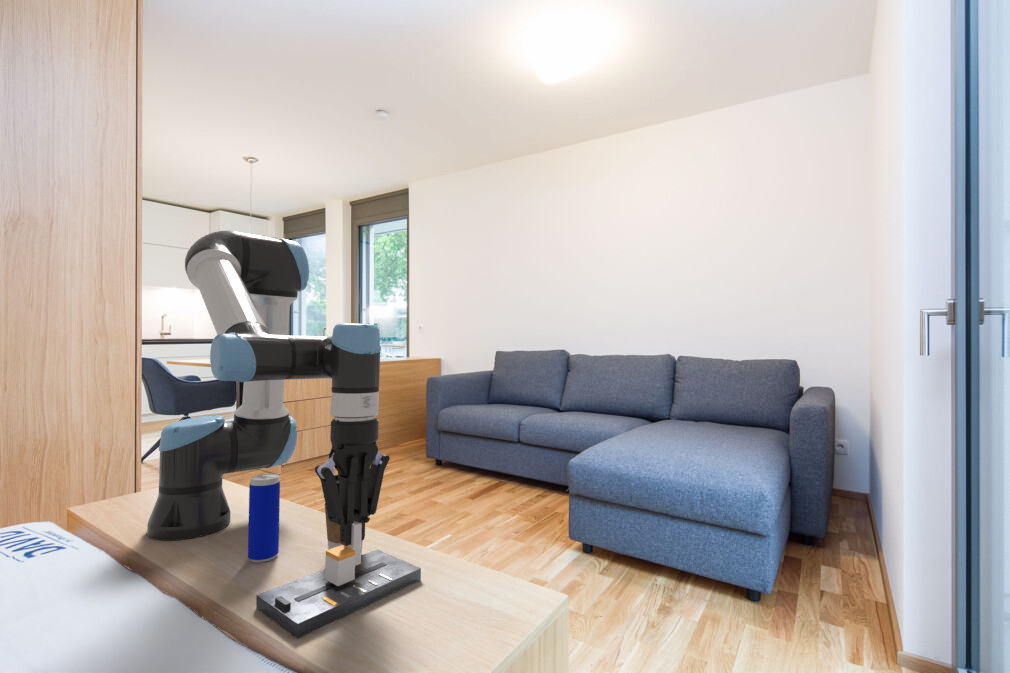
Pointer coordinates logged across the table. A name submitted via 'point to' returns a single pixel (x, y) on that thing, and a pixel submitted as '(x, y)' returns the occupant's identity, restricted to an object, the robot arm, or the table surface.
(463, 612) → the table surface
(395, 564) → the panel
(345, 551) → the fader tab
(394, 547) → the table surface
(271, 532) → the beverage can
